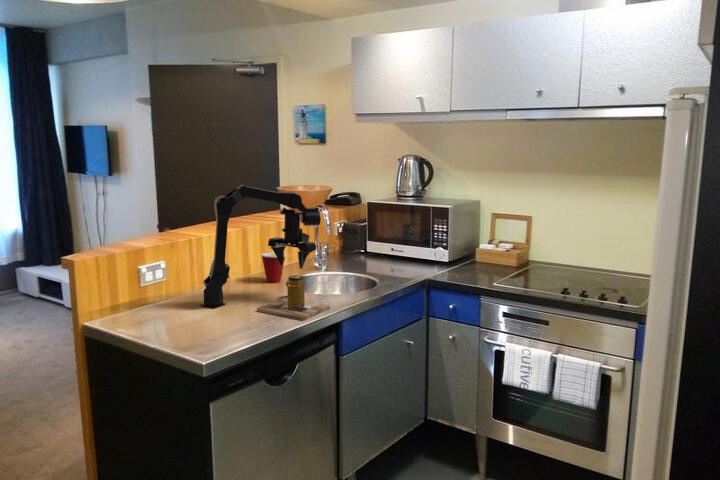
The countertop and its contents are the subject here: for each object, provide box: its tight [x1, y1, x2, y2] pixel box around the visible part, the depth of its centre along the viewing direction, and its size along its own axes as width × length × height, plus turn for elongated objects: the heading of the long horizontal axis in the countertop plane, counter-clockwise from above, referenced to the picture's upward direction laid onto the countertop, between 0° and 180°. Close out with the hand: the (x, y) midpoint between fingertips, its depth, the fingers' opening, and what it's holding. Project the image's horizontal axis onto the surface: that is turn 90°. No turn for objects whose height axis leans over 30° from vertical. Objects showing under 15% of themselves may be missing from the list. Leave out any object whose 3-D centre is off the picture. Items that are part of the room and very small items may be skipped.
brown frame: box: [256, 297, 330, 321], centre depth 207 cm, size 16×20×1 cm
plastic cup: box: [260, 252, 287, 284], centre depth 246 cm, size 11×11×12 cm
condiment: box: [286, 274, 311, 312], centre depth 207 cm, size 7×8×12 cm
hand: (291, 266), depth 219 cm, fingers open, 9 cm apart
